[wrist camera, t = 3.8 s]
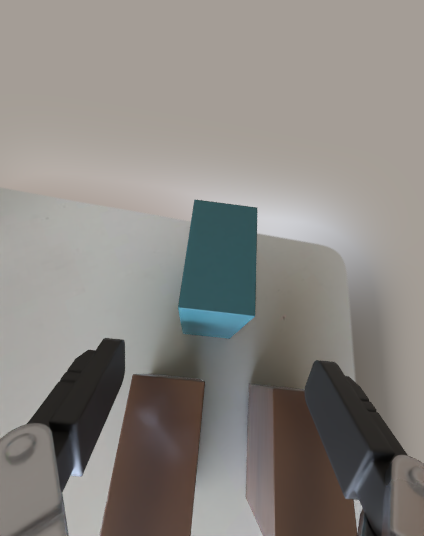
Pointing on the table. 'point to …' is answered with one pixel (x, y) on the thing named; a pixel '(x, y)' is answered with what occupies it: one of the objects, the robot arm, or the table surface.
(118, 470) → the walnut block
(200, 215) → the teal block
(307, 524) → the walnut block
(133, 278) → the table surface
